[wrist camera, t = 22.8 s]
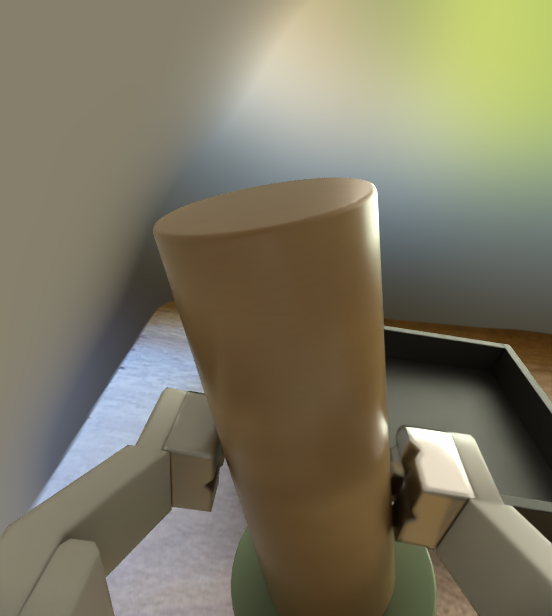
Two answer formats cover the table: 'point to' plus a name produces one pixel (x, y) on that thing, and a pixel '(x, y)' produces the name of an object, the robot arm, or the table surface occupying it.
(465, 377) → the pan
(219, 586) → the table surface
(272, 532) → the tan cylinder
